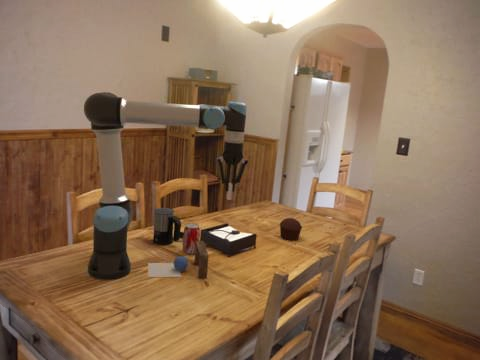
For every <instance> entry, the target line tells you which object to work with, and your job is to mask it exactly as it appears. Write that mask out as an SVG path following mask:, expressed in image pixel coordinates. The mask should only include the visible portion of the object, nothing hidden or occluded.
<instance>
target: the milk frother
mask: <svg viewBox="0 0 480 360" xmlns="http://www.w3.org/2000/svg"><path fill="white" fill-rule="evenodd" d="M153 213H154V217H153V237H152V238H153V239H152V243H153V244H155V245H159V246H167V245H172V244H173V243H174V242H178V241H180V239H183V234H184V231H181V229H182V221H181V218H179V217H178V216H177V215H175V209H172V208H169V207H158V208H155V209H154V210H153Z"/></svg>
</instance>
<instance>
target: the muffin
mask: <svg viewBox="0 0 480 360" xmlns="http://www.w3.org/2000/svg"><path fill="white" fill-rule="evenodd" d="M302 228H303V226H302V225H301V222H300V221H299V220H297V219H296V218H293V217H287V218H284V219H283V220H281V221H280V222H279V230H280V231H279V232H280V234H279V235H280V239H282V240H283V241H287V240H288V242H297V241H298V240H299V238H300V234H301V231H302Z"/></svg>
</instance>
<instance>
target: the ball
mask: <svg viewBox="0 0 480 360" xmlns="http://www.w3.org/2000/svg"><path fill="white" fill-rule="evenodd" d="M188 261H189V260H188V259H187V257H185V256H177V257H176V258H175V259H174V261H173V263H174V267H175V269H176V270H178V271H180V272H183V271H185V270H186V269H187V268H188V265H189V262H188Z"/></svg>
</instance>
